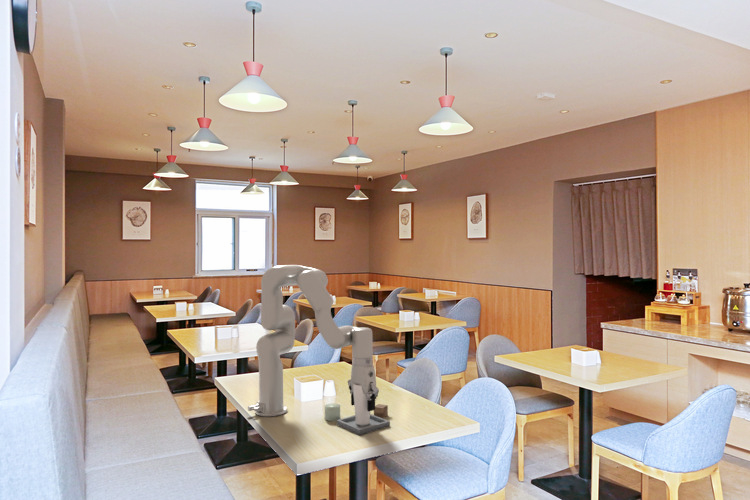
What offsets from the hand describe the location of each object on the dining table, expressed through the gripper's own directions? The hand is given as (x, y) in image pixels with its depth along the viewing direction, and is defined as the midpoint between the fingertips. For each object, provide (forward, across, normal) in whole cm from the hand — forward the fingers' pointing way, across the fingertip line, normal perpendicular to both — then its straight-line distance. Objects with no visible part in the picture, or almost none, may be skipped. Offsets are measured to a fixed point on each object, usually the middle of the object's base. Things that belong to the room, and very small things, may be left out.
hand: (362, 407), depth 186 cm
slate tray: (+7, 0, 0) cm, 7 cm away
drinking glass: (+6, 0, 0) cm, 6 cm away
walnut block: (+7, +4, -12) cm, 14 cm away
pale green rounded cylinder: (+7, +14, +4) cm, 16 cm away
